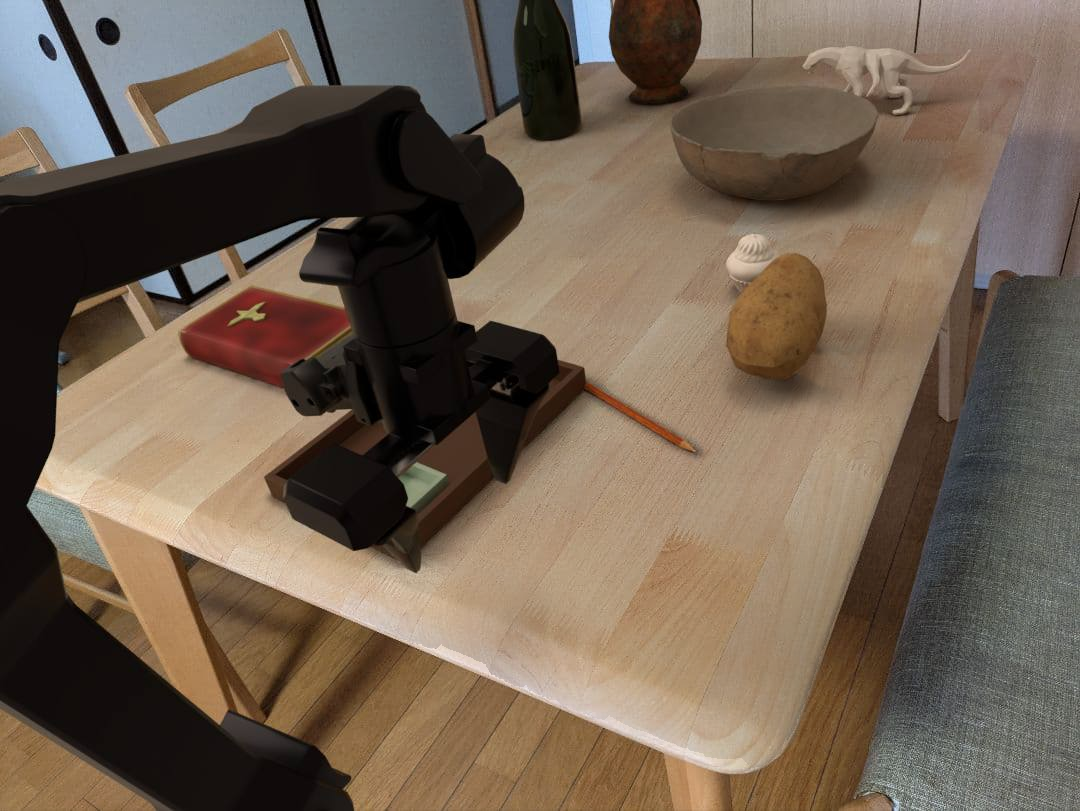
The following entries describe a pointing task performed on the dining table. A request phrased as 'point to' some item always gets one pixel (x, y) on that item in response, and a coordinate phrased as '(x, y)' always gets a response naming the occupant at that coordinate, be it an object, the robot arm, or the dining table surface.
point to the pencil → (639, 417)
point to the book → (264, 333)
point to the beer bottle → (545, 71)
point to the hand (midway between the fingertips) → (459, 522)
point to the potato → (778, 318)
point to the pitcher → (655, 46)
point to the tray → (435, 452)
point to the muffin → (750, 260)
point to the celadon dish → (423, 485)
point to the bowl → (773, 139)
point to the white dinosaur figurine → (876, 69)
